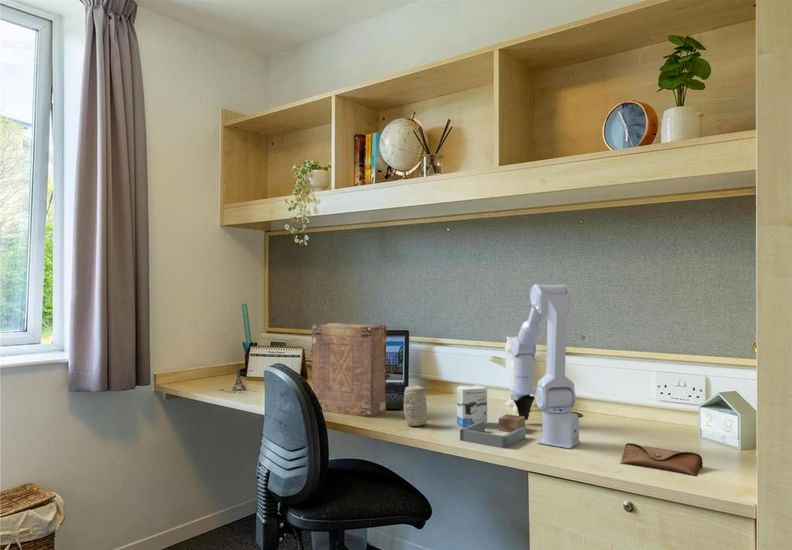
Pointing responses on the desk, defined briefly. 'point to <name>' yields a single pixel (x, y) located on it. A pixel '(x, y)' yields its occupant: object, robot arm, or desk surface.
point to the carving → (415, 406)
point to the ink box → (471, 405)
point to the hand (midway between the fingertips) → (523, 419)
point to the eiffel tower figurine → (237, 384)
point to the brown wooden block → (511, 423)
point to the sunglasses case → (662, 459)
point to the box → (490, 436)
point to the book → (349, 368)
